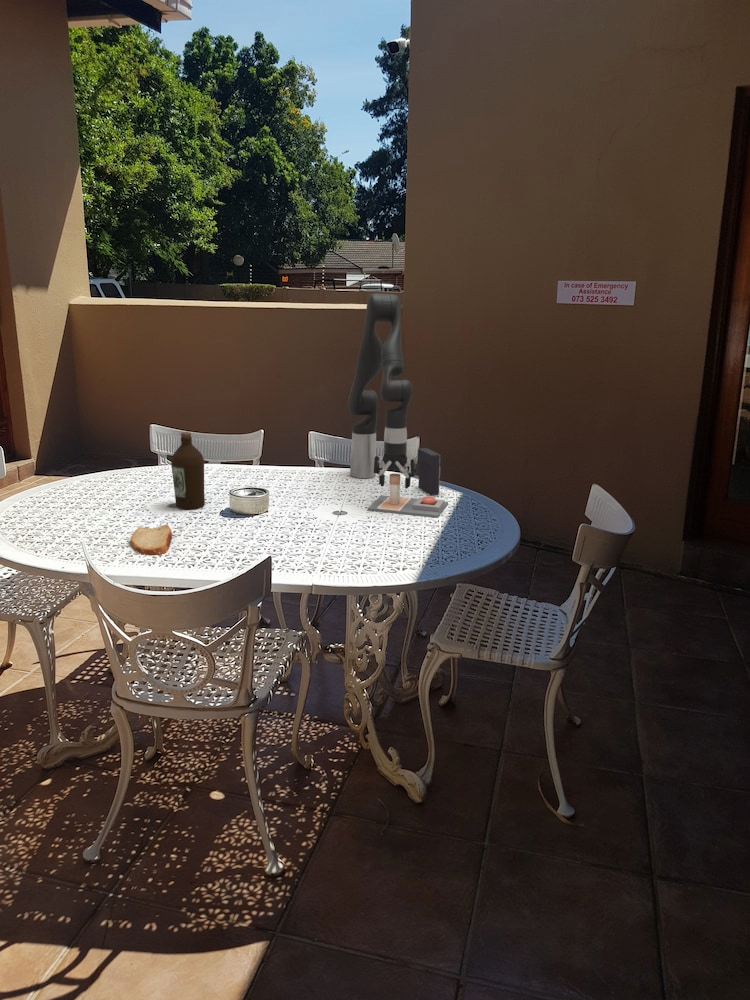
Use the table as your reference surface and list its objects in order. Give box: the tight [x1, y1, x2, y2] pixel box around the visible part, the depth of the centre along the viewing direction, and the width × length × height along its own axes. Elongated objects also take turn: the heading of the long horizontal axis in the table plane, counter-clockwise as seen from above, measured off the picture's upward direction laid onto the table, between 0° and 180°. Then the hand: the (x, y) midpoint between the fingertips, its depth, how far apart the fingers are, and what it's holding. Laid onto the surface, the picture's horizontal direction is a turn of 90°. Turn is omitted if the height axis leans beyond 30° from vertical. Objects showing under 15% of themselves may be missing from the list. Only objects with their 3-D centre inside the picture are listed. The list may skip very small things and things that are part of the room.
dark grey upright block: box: [417, 447, 441, 496], centre depth 270 cm, size 11×4×15 cm, turn 22°
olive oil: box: [170, 431, 206, 511], centre depth 248 cm, size 11×11×25 cm
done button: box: [421, 496, 436, 505], centre depth 250 cm, size 4×4×2 cm
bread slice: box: [130, 524, 173, 556], centre depth 218 cm, size 18×18×4 cm
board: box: [367, 494, 449, 519], centre depth 253 cm, size 24×16×2 cm, turn 73°
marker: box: [389, 472, 401, 505], centre depth 253 cm, size 4×4×10 cm
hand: (394, 487), depth 253 cm, fingers open, 8 cm apart
